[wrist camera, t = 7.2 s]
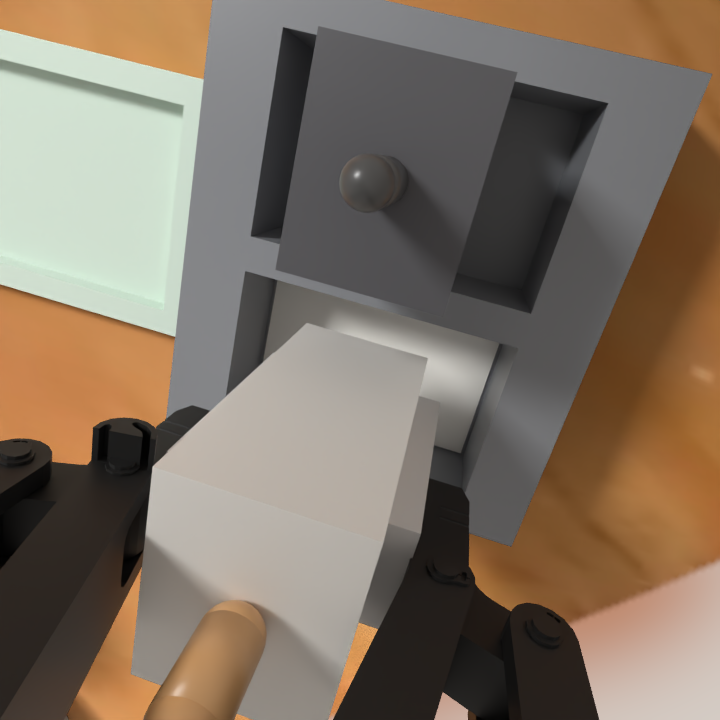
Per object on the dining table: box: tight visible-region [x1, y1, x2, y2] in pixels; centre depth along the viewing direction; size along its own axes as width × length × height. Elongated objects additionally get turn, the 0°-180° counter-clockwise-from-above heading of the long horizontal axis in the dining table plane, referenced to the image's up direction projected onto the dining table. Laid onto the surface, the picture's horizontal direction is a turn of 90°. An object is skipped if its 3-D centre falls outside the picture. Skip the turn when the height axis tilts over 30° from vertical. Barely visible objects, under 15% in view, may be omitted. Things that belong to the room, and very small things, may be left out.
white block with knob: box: [131, 323, 428, 720], centre depth 13 cm, size 5×4×12 cm
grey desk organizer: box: [166, 0, 712, 547], centre depth 16 cm, size 16×14×12 cm
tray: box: [0, 29, 204, 337], centre depth 22 cm, size 10×13×1 cm
